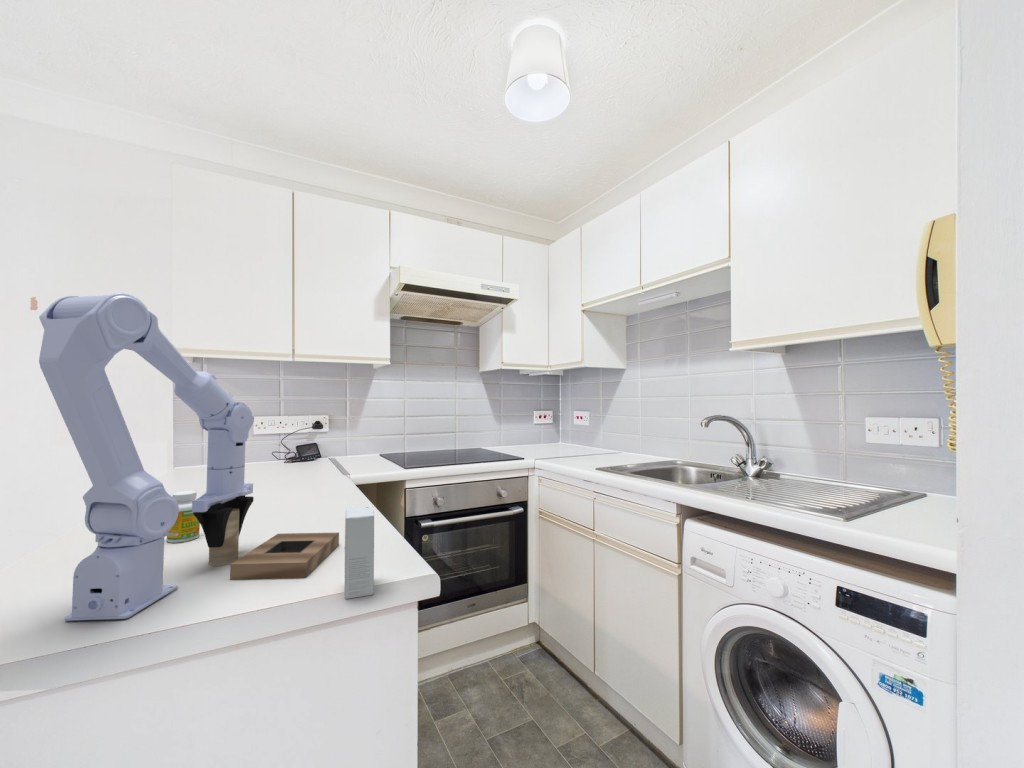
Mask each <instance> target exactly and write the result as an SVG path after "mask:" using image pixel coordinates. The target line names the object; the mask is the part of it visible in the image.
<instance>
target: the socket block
mask: <svg viewBox="0 0 1024 768" xmlns="http://www.w3.org/2000/svg"><path fill="white" fill-rule="evenodd" d="M339 545H340V532H296V533H293V532H291V533H289V532H288V533H277V534H275V535H273V536H272V537H271V538H269V539H267V540H266V541H264V542H263V543H261V544H260V545H258V546H256V547H255V548H253V549H252V550H249V552H247V553H246V554H243V556H241V557H238V560H236V561H235V562H233V563H230V567H229V580H233V581H236V580H237V581H239V580H240V581H241V580H267V579H268V580H271V579H273V580H275V579H306V578H308V576H309V575H310V574H311V573H312V572H313V571H314V570H315V569H317V567H319V565H320V564H322V562H323V561H324V560H326V558H328V557H329V555H330V554H332V552H333V551H335V550H336V549H337V547H339Z"/></svg>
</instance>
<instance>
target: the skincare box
mask: <svg viewBox="0 0 1024 768" xmlns="http://www.w3.org/2000/svg"><path fill="white" fill-rule="evenodd" d="M374 511H375V510H374V507H373V506H371V505H370V506H359V507H348V508H346V509H345V520H344V522H345V523H344V524H345V525H344V526H345V527H344V599H345V600H350V599H355V598H360V597H368V596H372V595H374V594H375V592H374V590H375V578H374V577H375V514H374Z"/></svg>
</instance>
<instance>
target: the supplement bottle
mask: <svg viewBox="0 0 1024 768" xmlns="http://www.w3.org/2000/svg"><path fill="white" fill-rule="evenodd" d="M172 497H174V498H175V500H176V501H177V503H178V507H179V513H178V517H177V520H176V522H175V524H174V525H173V527H172V528H171V529H170V530H169V531H168V536H166V542H168V543H171V544H176V543H186V542H190V541H193V540H195V539H197V538H199V536H200V528H201V527H200V526H201V524H200V523H199V521H198V519H197V518H196V517H195V516H194V515H193V512H192V501H193V500H196V499H197V490H183V491H177V492H174V493H172Z"/></svg>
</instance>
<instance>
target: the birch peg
mask: <svg viewBox="0 0 1024 768" xmlns="http://www.w3.org/2000/svg"><path fill="white" fill-rule="evenodd" d="M239 538H240V535H239V509H238V508H233V509H232V511H231V513H230V516H229V518H228V521H227V525H226V530H225V538H224V543H223V546H221V547H213V548H209V547H208V565H209V566H211V567H218V566H225V565H229V564H231V563H233V562H235V561H236V560H238V559H239V544H240V543H239V542H240V541H239V540H240V539H239Z"/></svg>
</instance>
